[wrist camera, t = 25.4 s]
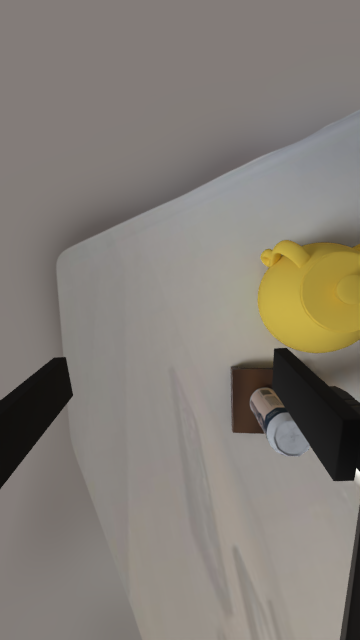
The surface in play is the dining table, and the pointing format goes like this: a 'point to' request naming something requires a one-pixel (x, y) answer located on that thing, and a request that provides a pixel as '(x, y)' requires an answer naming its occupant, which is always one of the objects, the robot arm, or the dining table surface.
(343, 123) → the dining table surface
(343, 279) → the teapot
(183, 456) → the dining table surface
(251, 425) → the flat wooden board
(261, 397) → the beer can
